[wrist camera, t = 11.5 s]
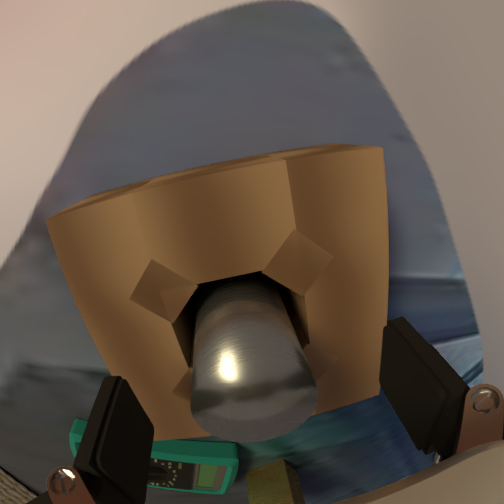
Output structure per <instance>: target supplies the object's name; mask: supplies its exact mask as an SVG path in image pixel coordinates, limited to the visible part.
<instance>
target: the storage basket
mask: <svg viewBox="0 0 504 504" xmlns="http://www.w3.org/2000/svg"><path fill="white" fill-rule="evenodd" d="M36 497H37V496H36V495H35V494H34V493H32V492H31V491H28V490H27V489H26V487H24V486H23V485H22V484H20V483H19V482H17V481H15V480H14V479H13V478H12V477H11V476H10V475H8V474H6V473H5V472H4V471H3V470H2V469H0V504H26V503H27V502H29V501H31V500H33V499H34V498H36Z"/></svg>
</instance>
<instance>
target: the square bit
mask: <svg viewBox="0 0 504 504" xmlns="http://www.w3.org/2000/svg"><path fill="white" fill-rule="evenodd" d="M245 472H246V480H247V487H248V494H249V501H250V504H305V501H304V498H303V494H302V490H301V486H300V482H299V479H298V475H297V472H296V471H295V470H294V469H292V468H291V467H290V466H289V465H288V464H287V463H286V462H285V461H284V460H280V461H277V462H274V463H271V464H268V465H265V466H262V467H258V468H255V469H252V470H248V471H245Z"/></svg>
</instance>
